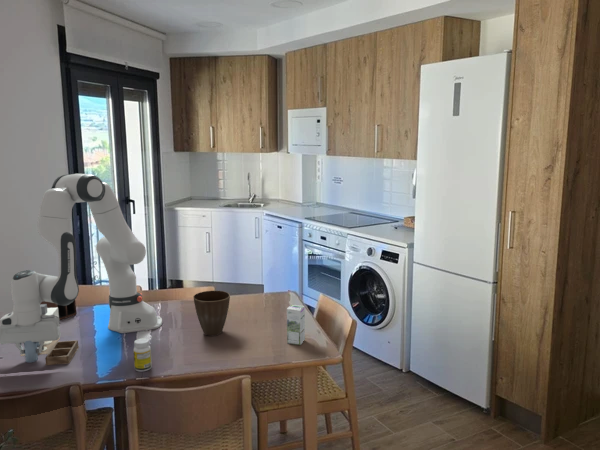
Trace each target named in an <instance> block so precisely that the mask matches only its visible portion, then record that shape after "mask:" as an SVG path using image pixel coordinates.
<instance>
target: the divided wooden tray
mask: <svg viewBox="0 0 600 450" xmlns="http://www.w3.org/2000/svg"><path fill="white" fill-rule="evenodd" d="M79 348H80V346H79V340H78V339H76V340H59V341H58V342H56V343H55V345H54V346H53V348H52V349H51V351H50V352H49V353H48V354H46V356H45V358H44V359H45V360H44V361H45V365H44V366H53V365H66V364H70V363H71V361H72V360H73V358H74V356H75V355H76V353H77V351H78V349H79Z"/></svg>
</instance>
